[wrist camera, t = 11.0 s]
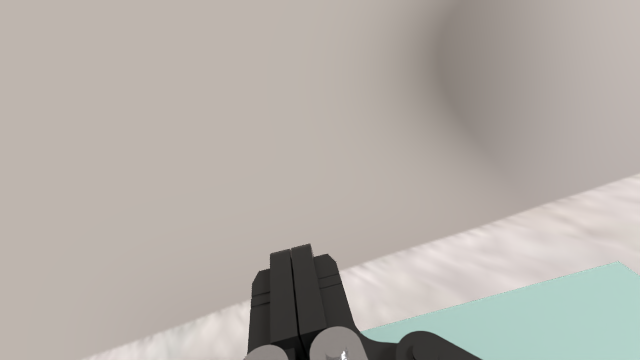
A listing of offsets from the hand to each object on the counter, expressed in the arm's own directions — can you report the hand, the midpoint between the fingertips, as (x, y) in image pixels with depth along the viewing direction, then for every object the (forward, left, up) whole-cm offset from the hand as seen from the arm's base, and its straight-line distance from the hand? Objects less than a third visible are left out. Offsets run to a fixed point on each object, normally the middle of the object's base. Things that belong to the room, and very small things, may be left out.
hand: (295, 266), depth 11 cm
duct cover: (0, +9, -4) cm, 9 cm away
